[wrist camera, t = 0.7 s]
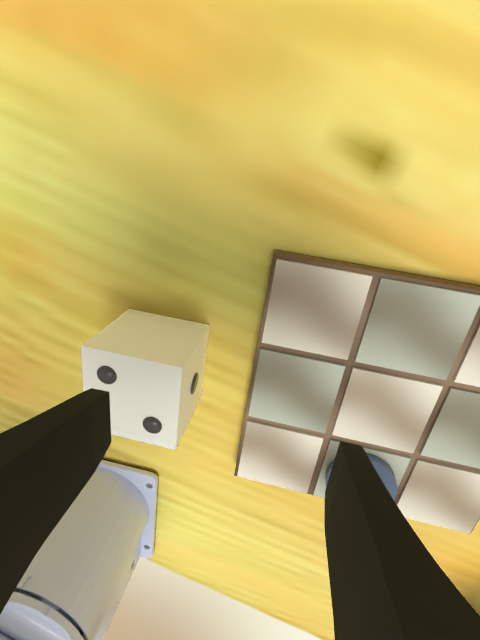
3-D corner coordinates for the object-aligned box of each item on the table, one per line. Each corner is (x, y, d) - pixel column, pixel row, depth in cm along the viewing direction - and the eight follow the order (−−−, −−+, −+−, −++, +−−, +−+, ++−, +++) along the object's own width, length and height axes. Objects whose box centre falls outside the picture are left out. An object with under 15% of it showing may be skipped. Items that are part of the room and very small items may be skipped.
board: (463, 519, 23) (471, 536, 22) (236, 463, 24) (233, 477, 23) (589, 304, 17) (609, 314, 15) (275, 249, 18) (273, 254, 17)
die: (203, 394, 23) (176, 451, 18) (128, 377, 23) (84, 428, 19) (211, 324, 21) (183, 369, 16) (129, 308, 21) (80, 346, 17)
